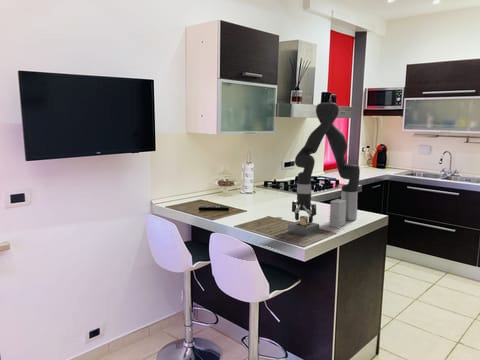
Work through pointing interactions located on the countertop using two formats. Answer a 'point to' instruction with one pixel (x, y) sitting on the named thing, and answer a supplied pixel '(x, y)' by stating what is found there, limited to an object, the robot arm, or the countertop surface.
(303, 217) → the piston
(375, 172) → the countertop surface
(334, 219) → the skincare box
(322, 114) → the robot arm
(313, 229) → the collar
